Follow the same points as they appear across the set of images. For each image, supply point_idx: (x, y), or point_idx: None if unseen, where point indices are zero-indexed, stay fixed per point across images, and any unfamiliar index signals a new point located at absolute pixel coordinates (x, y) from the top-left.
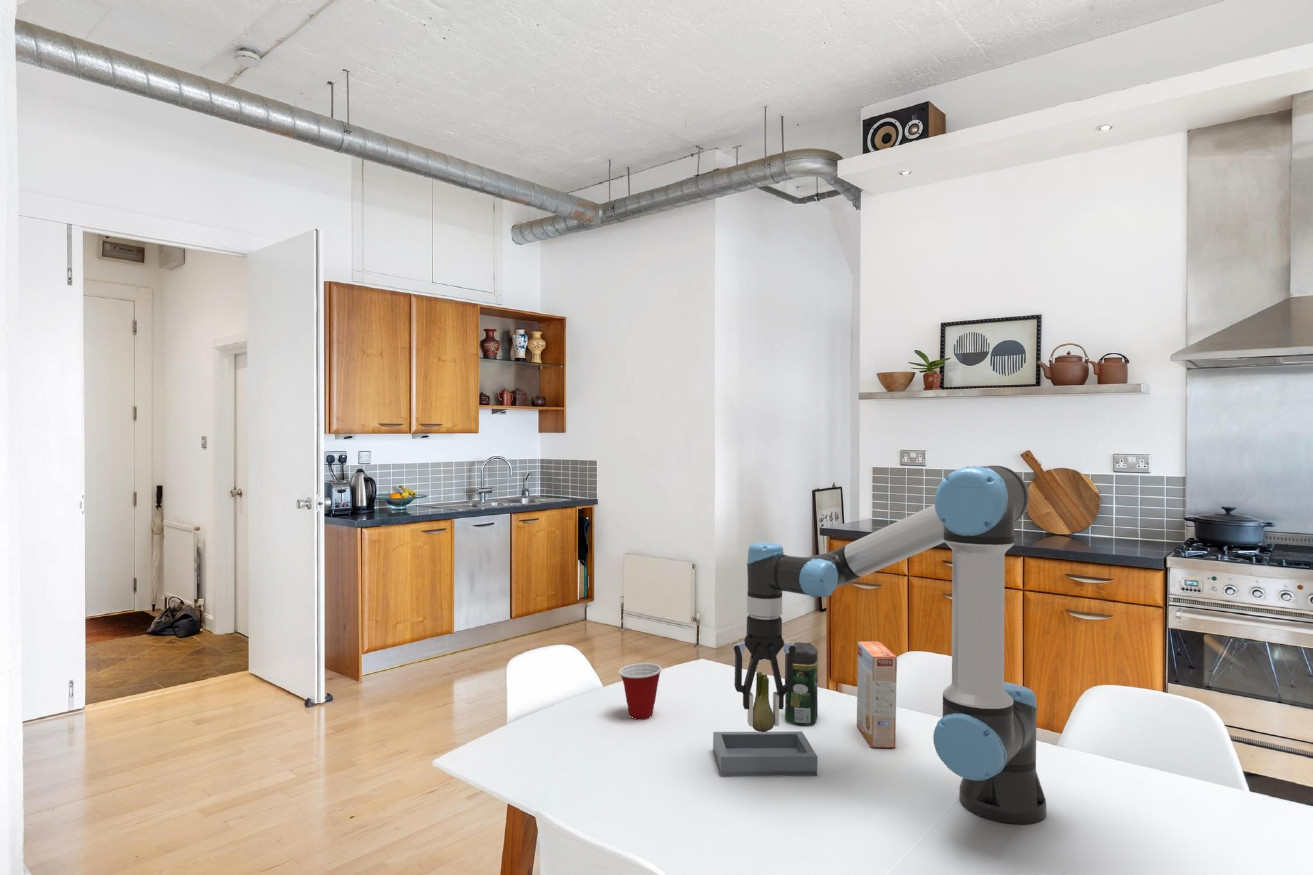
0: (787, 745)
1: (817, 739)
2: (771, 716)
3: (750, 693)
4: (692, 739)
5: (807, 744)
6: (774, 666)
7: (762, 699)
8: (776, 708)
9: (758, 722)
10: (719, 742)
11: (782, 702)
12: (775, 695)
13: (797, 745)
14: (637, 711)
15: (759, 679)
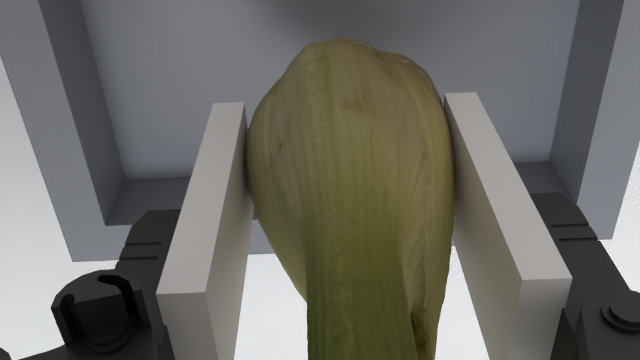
0: (174, 184)
1: (30, 304)
2: (276, 129)
3: (534, 345)
4: (632, 285)
5: (24, 69)
6: None
7: (395, 226)
8: (213, 192)
9: (408, 79)
10: (635, 84)
11: (133, 258)
12: (205, 299)
13: (115, 172)
14: None
15: None
